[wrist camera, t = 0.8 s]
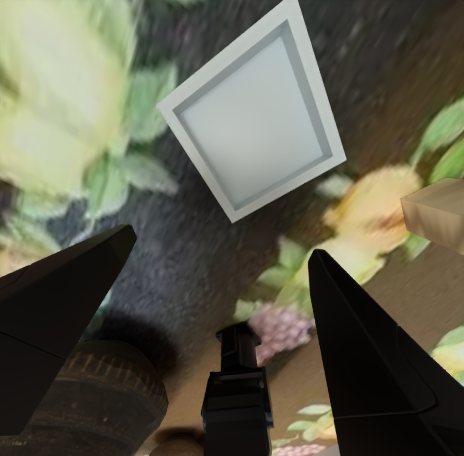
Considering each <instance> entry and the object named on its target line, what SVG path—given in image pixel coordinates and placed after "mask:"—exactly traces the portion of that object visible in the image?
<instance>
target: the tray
mask: <svg viewBox="0 0 464 456" xmlns="http://www.w3.org/2000/svg"><path fill="white" fill-rule="evenodd" d="M156 106H157V108H158V110H159V111H160V113H161V114H162V116H163V117H164V119H165V120H166V122H167V123H168V125H169V126H170V128H171V130H172V131H173V133H174V134H175V136H176V137H177V139H178V140H179V142H180V143H181V145H182V147H183V148H184V150H185V151H186V153H187V154H188V156H189V157H190V159H191V160H192V162H193V163H194V165H195V167H196V168H197V170H198V171H199V173H200V174H201V176H202V177H203V179H204V180H205V182H206V184H207V185H208V187H209V188H210V190H211V191H212V193H213V194H214V196H215V197H216V199H217V200H218V202H219V204H220V205H221V207H222V208H223V210H224V211H225V213H226V214H227V216H228V217H229V219H230V221H231V222H232V223H233V222H235V221H237V220H239V219H241V218H243V217H244V216H246V215H248V214H250V213H252V212H253V211H255V210H257V209H259V208H261V207H262V206H264V205H266V204H268V203H270V202H271V201H273V200H275V199H277V198H279V197H280V196H282V195H284V194H286V193H288V192H289V191H291V190H293V189H295V188H297V187H298V186H300V185H302V184H304V183H306V182H307V181H309V180H311V179H313V178H315V177H317V176H318V175H320V174H322V173H324V172H326V171H327V170H329V169H331V168H333V167H335V166H336V165H338V164H340V163H342V162H344V161H345V160H346V157H345V153H344V150H343V147H342V144H341V140H340V137H339V134H338V130H337V127H336V124H335V121H334V117H333V114H332V111H331V108H330V104H329V101H328V98H327V95H326V91H325V88H324V85H323V82H322V78H321V75H320V72H319V69H318V65H317V62H316V59H315V56H314V52H313V49H312V46H311V42H310V39H309V36H308V33H307V29H306V26H305V23H304V20H303V16H302V13H301V10H300V7H299V3H298V0H283V1H282V2H281V3H280V4H278V5H277V6H276V7H275V8H274V9H272V10H271V11H270V12H269V13H267V14H266V15H265V16H264V17H263V18H261V19H260V20H259V21H258V22H257V23H255V24H254V25H253V26H252V27H250V28H249V29H248V30H247V31H246V32H244V33H243V34H242V35H241V36H239V37H238V38H237V39H236V40H235V41H233V42H232V43H231V44H230V45H229V46H227V47H226V48H225V49H224V50H222V51H221V52H220V53H219V54H218V55H216V56H215V57H214V58H213V59H211V60H210V61H209V62H208V63H207V64H205V65H204V66H203V67H202V68H201V69H199V70H198V71H197V72H196V73H194V74H193V75H192V76H191V77H190V78H188V79H187V80H186V81H185V82H183V83H182V84H181V85H180V86H179V87H177V88H176V89H175V90H174V91H173V92H171V93H170V94H169V95H168V96H166V97H165V98H164V99H163V100H162V101H160V102H159V103H158V104H157V105H156Z"/></svg>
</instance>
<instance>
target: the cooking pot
mask: <svg viewBox="0 0 464 456" xmlns="http://www.w3.org/2000/svg"><path fill="white" fill-rule="evenodd" d="M149 456H204V449H203V448H202V447H201V446H200V444H199V443H198V442H197V441H196V440H195V439H194V437H193V436H191V435H188V434H175V435H173V436H172V437H171V438H169V439H168V440H166V441H165V442H163V443H162V444H160V445H159V446H158V447H156V448H155V449H154V450H153V451H152V452H151V453H150V454H149Z"/></svg>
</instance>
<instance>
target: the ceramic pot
mask: <svg viewBox="0 0 464 456" xmlns="http://www.w3.org/2000/svg"><path fill="white" fill-rule="evenodd" d="M168 403H169V402H168V398H167V394H166V390H165V386H164V384H163V382H162V380H161V379H160V377H159V375H158V373H157V372H156V370H155V368H154V366H153V365H152V364H151V363H150V361H149V360H148V359H147V358H146V356H145V355H144V354H143V353H142V352H141V350H139V349H138V348H136V347H134V346H132V345H131V344H129V343H127V342H125V341H120V340H115V339H111V340H93V341H83V342H79V343H77V344H76V345H75V347H74V348H73V350H72V352H71V353H70V355H69V357H68V358H67V359H66V362H65V363H64V365H63V367H62V368H61V370H60V372H59V373H58V375H57V376H56V378H55V380H54V381H53V383H52V385H51V386H50V388H49V389H48V391H47V393H46V394H45V396H44V398H43V399H42V401H41V402H40V404H39V406H38V407H37V409H36V411H35V412H34V414H33V416H32V417H31V419H30V420H29V422H28V424H27V425H26V427H25V428H24V430H23V431H22V433H21V434H20V435H19V436H2V437H0V456H131V455H132V454H133V453H134V452H135V451H136V450H137V449H138V448H139V447H140V446H141V445H142V443H143V442H144V441H145V440H146V439H147V438H148V437H149V436H150V435H151V434H152V433H153V432H154V431H155V430H156V429H157V428H158V427H159V426H160V424H161V422H162V420H163V419H164V417H165V415H166V412H167V407H168Z"/></svg>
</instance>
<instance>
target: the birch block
mask: <svg viewBox="0 0 464 456" xmlns="http://www.w3.org/2000/svg"><path fill="white" fill-rule="evenodd" d="M401 204H402V209H403V214H404V219H405V224H406V228H407V231H410V232H412V233H414V234H416V235H419V236H421V237H423V238H425V239H428V240H430V241H432V242H434V243H437V244H439V245H441V246H443V247H446V248H448V249H450V250H452V251H455V252H457V253H459V254H461V255H464V180H463V179H454V178H444V179H441V180H439V181H437V182H435V183H433V184H431V185H429V186H427V187H425V188H422V189H420V190H418V191H416V192H414V193H412V194H410V195H408V196H406V197H403V198H401Z"/></svg>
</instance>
